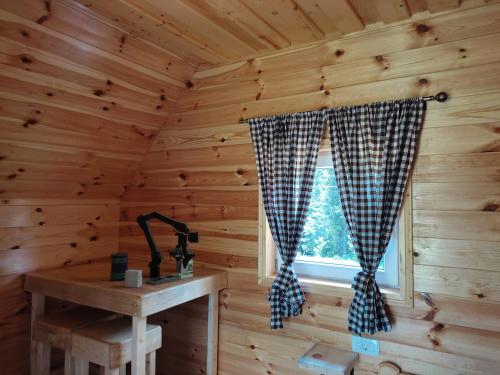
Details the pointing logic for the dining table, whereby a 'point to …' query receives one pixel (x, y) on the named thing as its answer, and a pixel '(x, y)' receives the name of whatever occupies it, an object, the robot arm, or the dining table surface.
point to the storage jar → (118, 266)
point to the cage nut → (181, 267)
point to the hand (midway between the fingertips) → (182, 268)
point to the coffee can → (190, 264)
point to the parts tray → (184, 275)
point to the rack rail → (163, 279)
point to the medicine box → (133, 278)
